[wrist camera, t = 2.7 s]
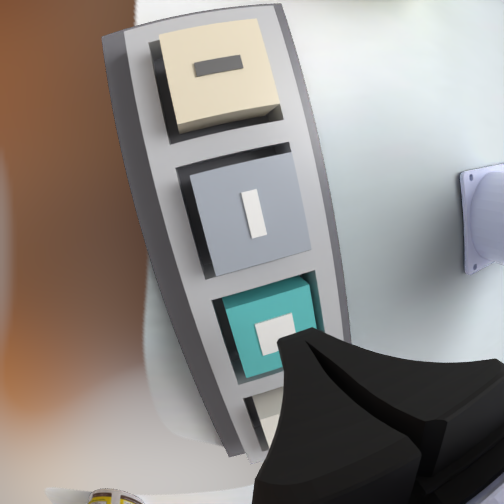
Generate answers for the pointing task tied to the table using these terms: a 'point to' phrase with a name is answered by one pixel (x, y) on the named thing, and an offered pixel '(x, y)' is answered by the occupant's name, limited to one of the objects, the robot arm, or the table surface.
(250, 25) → the block
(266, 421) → the key cream
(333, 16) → the table surface
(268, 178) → the key slate
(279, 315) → the key teal
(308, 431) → the robot arm
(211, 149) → the keypad board
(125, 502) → the supplement bottle
